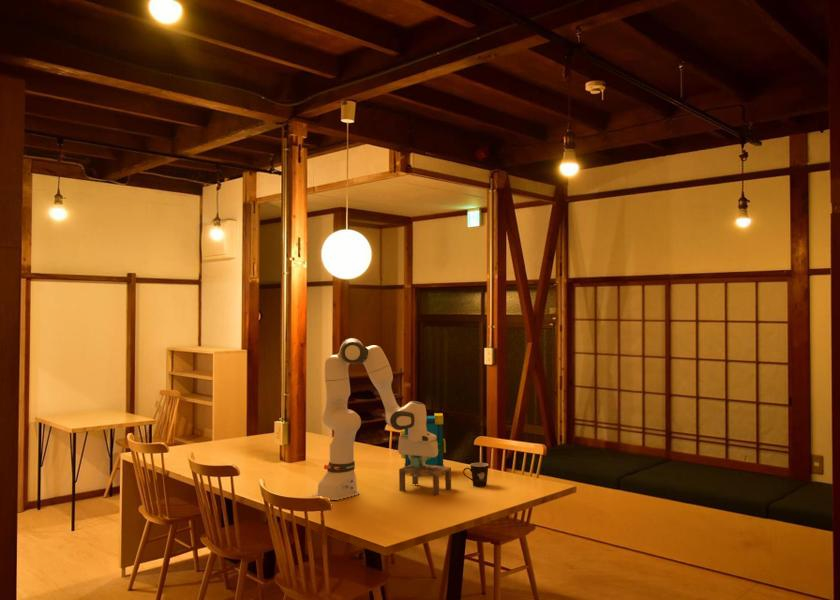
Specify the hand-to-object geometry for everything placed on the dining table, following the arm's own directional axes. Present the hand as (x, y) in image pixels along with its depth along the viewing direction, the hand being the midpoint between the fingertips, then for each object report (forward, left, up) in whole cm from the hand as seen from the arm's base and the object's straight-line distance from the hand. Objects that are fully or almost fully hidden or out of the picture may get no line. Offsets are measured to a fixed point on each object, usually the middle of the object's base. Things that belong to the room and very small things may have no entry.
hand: (417, 465), depth 320 cm
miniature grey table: (0, -4, -11) cm, 12 cm away
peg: (0, 0, -5) cm, 5 cm away
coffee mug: (+18, -22, -11) cm, 30 cm away
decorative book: (+30, +14, -11) cm, 35 cm away
